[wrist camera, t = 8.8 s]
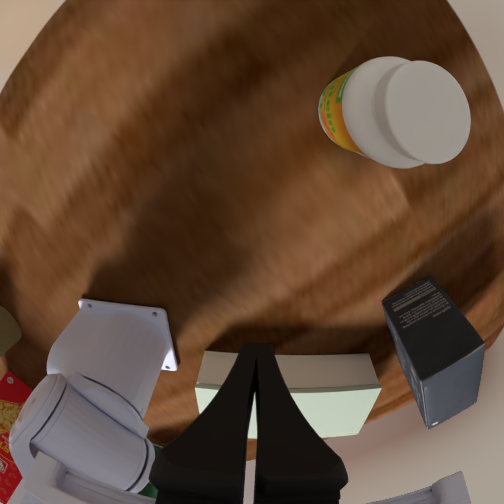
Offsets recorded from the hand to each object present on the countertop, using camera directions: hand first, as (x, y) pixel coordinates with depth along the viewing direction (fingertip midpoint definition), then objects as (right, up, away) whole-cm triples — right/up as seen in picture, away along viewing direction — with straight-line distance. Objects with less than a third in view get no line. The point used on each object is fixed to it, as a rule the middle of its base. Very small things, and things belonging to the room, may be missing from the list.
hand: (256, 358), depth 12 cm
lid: (+3, -10, +11) cm, 15 cm away
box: (+15, -2, +11) cm, 19 cm away
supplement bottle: (+7, +14, +4) cm, 16 cm away
